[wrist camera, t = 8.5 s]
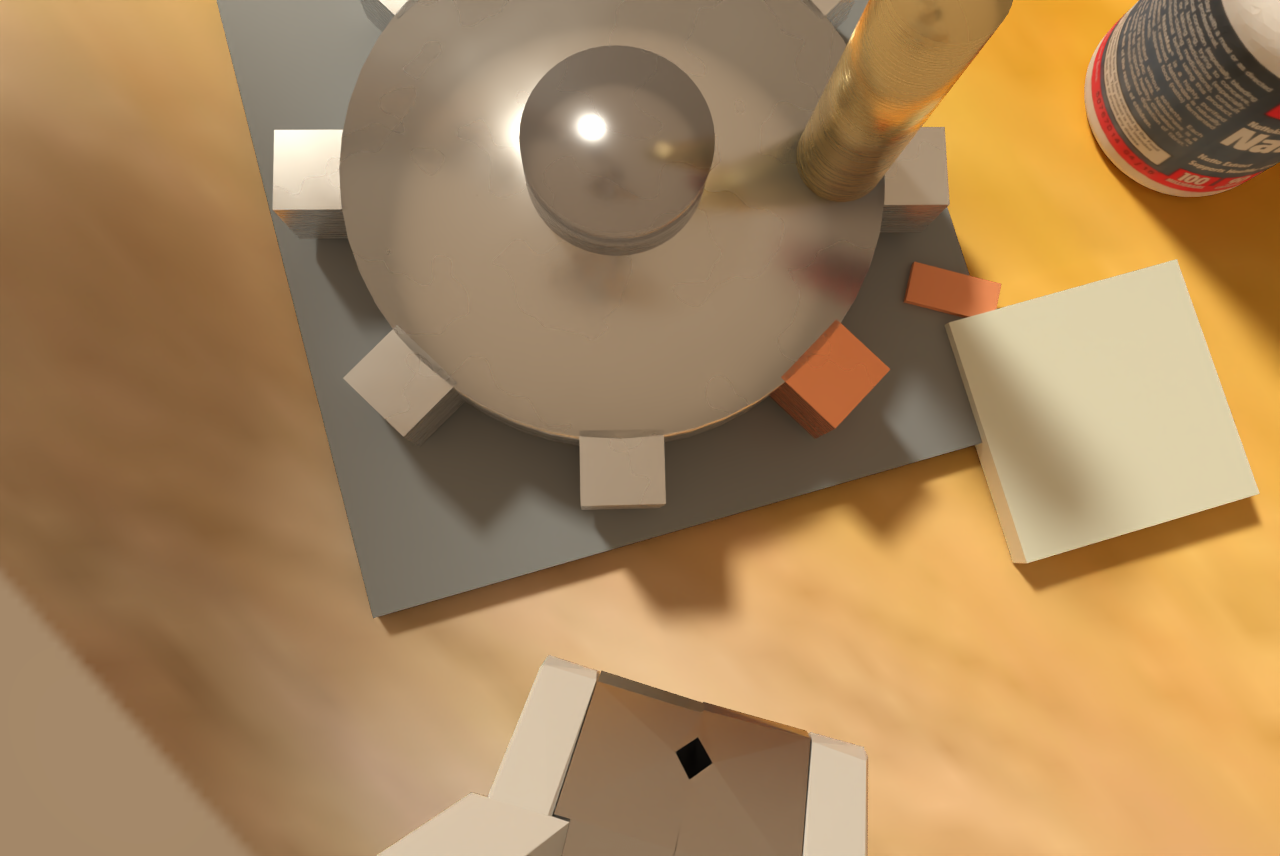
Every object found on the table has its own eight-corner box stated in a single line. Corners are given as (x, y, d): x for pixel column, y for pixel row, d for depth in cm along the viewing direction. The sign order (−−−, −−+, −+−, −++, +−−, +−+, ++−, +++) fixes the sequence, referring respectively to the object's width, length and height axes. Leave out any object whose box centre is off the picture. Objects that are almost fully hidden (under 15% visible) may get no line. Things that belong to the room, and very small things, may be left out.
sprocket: (167, 202, 24) (-90, -11, 15) (604, -201, 25) (611, -609, 17) (623, 644, 23) (643, 701, 14) (1041, 196, 25) (1295, -6, 16)
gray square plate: (220, -4, 25) (209, -20, 25) (843, -151, 27) (850, -170, 26) (377, 617, 24) (371, 618, 23) (1035, 427, 25) (1047, 423, 24)
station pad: (937, 329, 25) (948, 322, 24) (1158, 268, 26) (1176, 259, 25) (1013, 562, 25) (1027, 563, 24) (1238, 495, 25) (1260, 493, 24)
